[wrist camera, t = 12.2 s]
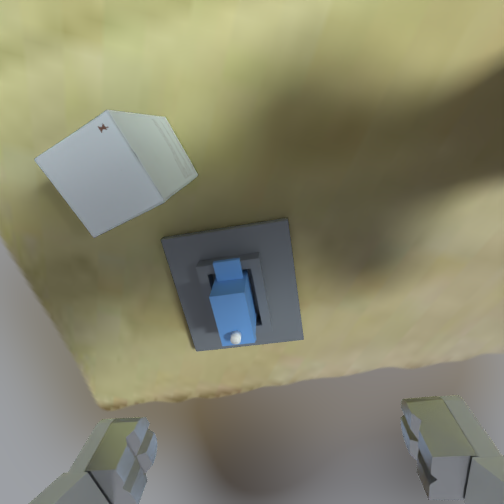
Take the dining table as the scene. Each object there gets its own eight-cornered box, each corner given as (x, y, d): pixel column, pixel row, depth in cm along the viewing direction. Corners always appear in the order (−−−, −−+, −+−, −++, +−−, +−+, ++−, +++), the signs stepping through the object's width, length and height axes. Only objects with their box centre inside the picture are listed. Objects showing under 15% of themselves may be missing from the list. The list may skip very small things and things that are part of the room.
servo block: (243, 250, 36) (239, 276, 29) (259, 327, 40) (258, 365, 34) (213, 255, 36) (201, 281, 30) (231, 330, 41) (225, 368, 34)
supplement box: (112, 147, 33) (27, 155, 21) (166, 115, 31) (107, 105, 19) (149, 204, 35) (91, 240, 23) (200, 177, 33) (166, 201, 22)
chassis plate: (287, 217, 35) (289, 224, 32) (303, 335, 42) (305, 348, 39) (163, 237, 37) (155, 245, 34) (197, 346, 43) (193, 360, 41)
